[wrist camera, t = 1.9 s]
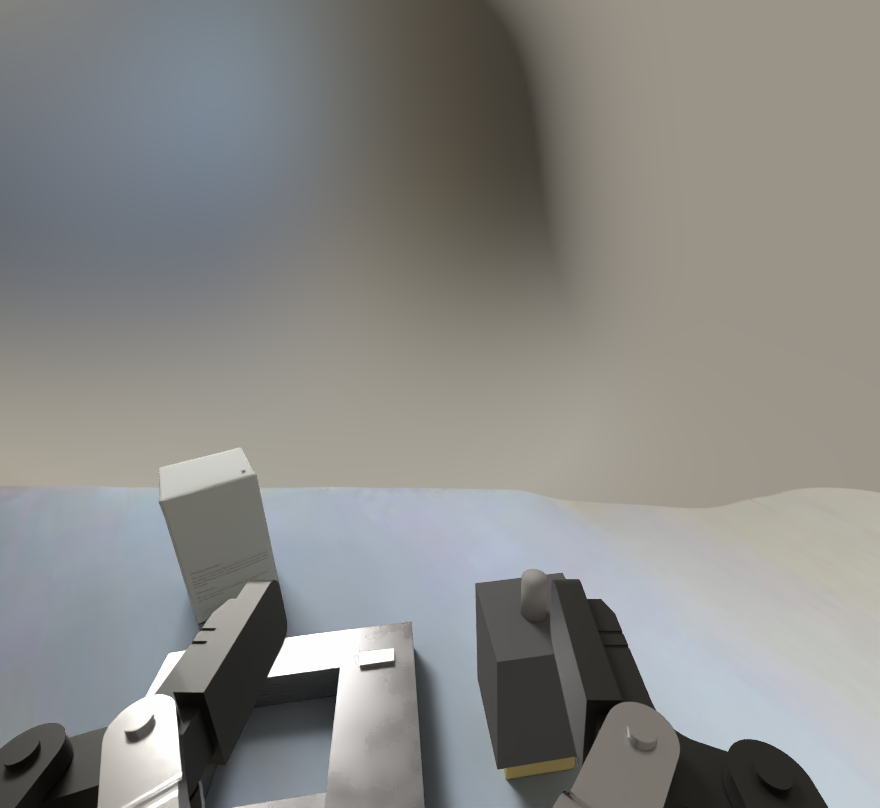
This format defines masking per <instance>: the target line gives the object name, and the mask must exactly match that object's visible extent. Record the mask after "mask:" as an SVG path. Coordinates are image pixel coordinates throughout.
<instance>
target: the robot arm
mask: <svg viewBox="0 0 880 808" xmlns="http://www.w3.org/2000/svg"><path fill="white" fill-rule="evenodd" d="M550 627H551V638H552V645H553V650H554V654H555V659H556V663H557V668H558V672H559V677H560V681H561V686H562V690H563V695H564V699H565V704H566V709H567V713H568V718H569V722H570V727H571V731H572V736H573V740H574V745H575V749H576V754H577V758H578V763H579V767H580V772H579V775H578V777H577V779H576V781H575V783H574V785H573V787H572V788H571V790H570V791H569V792H568V793H567V792H566V791H564V792H562V793H561V795H560V796H559V797H558V799H557V801H556V802H555V804H554V806H553V808H828V806H827V805H826V803H825V802H824V800H823V798H822V797H821V795H820V793H819V792H818V790H817V788H816V787H815V785H814V783H813V782H812V780H811V779H810V777H809V776H808V774H807V773H806V772H805V771H804V770H803V768H802V767H801V766H800V765H799V764H798V763H797V762H796V761H794V760H793V759H792V758H791V757H790V756H788V755H787V754H786V753H784V752H783V751H781V750H779V749H778V748H776V747H774V746H772V745H770V744H767V743H765V742H761V741H758V740H752V739H744V740H739V741H737V742H735V743H734V744H733V745H732V746H731V747H730V749H729V751H728V752H727V751H724V750H721V749H718V748H715V747H712V746H709V745H706V744H703V743H700V742H697V741H694V740H692V739H689V738H687V737H685V736H684V735H682V734H680V733H679V732H677V731H676V730H674V729H673V727H672V726H671V725H670V723H669V722H668V721H667V720H666V719H665V718H664V717H663V716H662V715H661V714H660V713H658V712H657V711H656V709H655V708H654V706H653V704H652V702H651V699H650V697H649V694H648V692H647V690H646V687H645V685H644V682H643V680H642V678H641V675H640V673H639V670H638V668H637V666H636V663H635V661H634V658H633V656H632V653H631V651H630V649H629V648H628V644H627V641H626V639H625V637H624V634H622V629H621V627H620V625H619V622H618V620H617V617H616V615H615V613H614V612H613V611H612V610H611V609H610V608H609V607H608V606H607V605H606V604H605V603H604V602H603V601H602V600H601V599H587V598H586V595H585V593H584V590H583V587H582V584H581V582H580V580H579V579H553V580H552V584H551V617H550ZM286 631H287V619H286V614H285V610H284V605H283V600H282V595H281V590H280V586H279V583H278V581H277V580H250V581H248V582H247V584H246V585H245V586H244V588H243V589H242V591H241V592H240V594H239V595H238V597H237V598H236V599H229V600H228V601H226V602H225V603H224V604H223V605H221V606H220V607H219V608H218V609H217V610H215V611H214V612H213V613H212V615H211V616H210V617H209V619H208V620H207V622H206V623H205V624H204V626H203V627H202V631H199V633H198V634H197V636H196V637H195V638H194V640H193V643H192V644H190V645H189V647H188V648H187V650H186V651H185V652H184V654H183V655H182V656H181V658H180V659H179V661H178V662H177V663H176V665H175V666H174V668H173V669H172V670H171V672H170V673H169V675H168V676H167V677H166V679H165V680H164V682H163V683H162V684H161V686H160V687H159V689H158V690H157V691H156V693H155V694H154V695H152V696H149V697H146V698H143V699H141V700H139V701H137V702H135V703H133V704H132V705H130V706H129V707H127V708H126V709H125V710H124V711H122V712H121V713H120V714H119V715H118V716H117V717H116V718H115V719H114V720H113V721H112V723H111V724H110V725H109V726H108V727H105V728H102V729H98V730H95V731H91V732H88V733H84V734H81V735H77V736H74V737H70V738H69V737H68V735H67V733H66V730H65V728H64V727H63V726H62V725H61V724H57V723H47V724H43V725H39V726H36V727H34V728H31V729H29V730H27V731H25V732H23V733H22V734H20V735H18V736H17V737H15V738H14V739H12V740H11V741H9V742H8V743H7V744H6V745H4V746H3V747H2V748H1V749H0V808H205V803H204V795H203V787H202V783H201V780H200V779H201V777H202V775H203V773H204V771H205V769H206V767H207V765H208V764H215V765H226V763H227V761H228V759H229V757H230V755H231V753H232V751H233V748H234V746H235V744H236V742H237V740H238V738H239V736H240V734H241V732H242V730H243V727H244V725H245V723H246V721H247V719H248V717H249V715H250V713H251V711H252V709H253V707H254V704H255V702H256V700H257V698H258V696H259V694H260V692H261V690H262V688H263V686H264V683H265V681H266V679H267V677H268V675H269V673H270V671H271V669H272V667H273V665H274V662H275V660H276V658H277V656H278V654H279V652H280V650H281V648H282V646H283V643H284V640H285V637H286Z"/></svg>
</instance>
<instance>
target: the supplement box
mask: <svg viewBox="0 0 880 808" xmlns="http://www.w3.org/2000/svg"><path fill="white" fill-rule="evenodd" d="M159 471H160V479H159V481H160V482H159V504H160V506H161V509H162V511H163V514H164V517H165V520H166V523H167V526H168V530H169V533H170V536H171V539H172V543H173V546H174V549H175V552H176V556H177V559H178V563H179V566H180V569H181V572H182V576H183V579H184V582H185V585H186V589H187V592H188V595H189V598H190V601H191V604H192V607H193V610H194V613H195V617H196V619H197V621H198V623H202V622H204V621H207V620H208V619H209V617H210V616H211V615H212V613H213V612H214V611H215V610H217V609H218V608H219V607H220V606H221V605H223V604H224V603H225V602H226V601H228V600H229V599H236V598H237V597H238V595H239V594H240V592H241V591H242V589H243V588H244V586H245V585H246V584H247V582H248V581H250V580H277V581H278V583H279V580H278V576H277V571H276V566H275V561H274V557H273V552H272V547H271V542H270V537H269V532H268V528H267V523H266V518H265V513H264V509H263V504H262V499H261V494H260V489H259V485H258V480H257V475H256V473H255V472H254V470H253V468H252V467H251V465H250V463H249V461H248V460H247V458H246V456H245V454H244V453H243V450H242V449H241V448H236V449H232V450H228V451H224V452H221V453H216V454H213V455H209V456H204V457H200V458H196V459H192V460H188V461H184V462H180V463H176V464H173V465H168V466H164V467H160V468H159ZM279 586H280V585H279Z"/></svg>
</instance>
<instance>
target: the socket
mask: <svg viewBox="0 0 880 808" xmlns="http://www.w3.org/2000/svg"><path fill="white" fill-rule="evenodd" d="M184 652H185V651H181V652H173V653H169V654H168V656H167V658H166V660H165V662H164V664H163V665H162V667H161V669H160V671H159V673H158V675H157V676H156V678H155V680H154V682H153V684H152V686H151V687H150V689H149V691H148V693H147V695H146V697H149V696H152V695H154V694H155V693H156V691H157V690H158V689H159V687H160V686H161V684H162V683H163V682H164V680H165V679H166V677H167V676H168V675H169V673H170V672H171V670H172V669H173V668H174V666H175V665H176V663H177V662H178V661H179V659H180V658H181V656H182V655H183V654H184ZM335 695H337V699H336V708H335V716H334V725H333V734H332V743H331V752H330V761H329V770H328V779H327V788H326V792H325V793H319V794H313V795H307V796H301V797H295V798H289V799H282V800H276V801H270V802H264V803H258V804H252V805H246V806H240V807H234V808H425V798H424V784H423V770H422V756H421V742H420V728H419V714H418V700H417V687H416V673H415V659H414V645H413V633H412V622H405V623H397V624H390V625H382V626H374V627H367V628H359V629H351V630H343V631H336V632H328V633H320V634H312V635H305V636H297V637H289V638H285V640H284V643H283V646H282V648H281V650H280V652H279V654H278V656H277V658H276V660H275V662H274V665H273V667H272V669H271V671H270V673H269V675H268V677H267V679H266V681H265V683H264V686H263V688H262V690H261V692H260V694H259V696H258V698H257V700H256V702H255V704H254V707H258V706H265V705H272V704H279V703H286V702H293V701H300V700H307V699H314V698H321V697H328V696H335ZM146 697H145V698H146ZM215 768H216V765H215V764H208V765H207V767H206V769H205V771H204V773H203V775H202V777H201V779H200V780H201V783H202V787H203V795H204V801H205V798H206V795H207V792H208V789H209V786H210V783H211V780H212V777H213V774H214V771H215Z"/></svg>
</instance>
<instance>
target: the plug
mask: <svg viewBox="0 0 880 808" xmlns="http://www.w3.org/2000/svg"><path fill="white" fill-rule="evenodd" d="M553 579H565V577H564V575H563V573H557V574H549V575H546V574H545V573H544V572H542V571H540V570H537V569H529V570H526V571H524V572H523V574H522V578H516V579H508V580H500V581H491V582H483V583H475V586H476V629H477V671H478V682H479V687H480V692H481V696H482V701H483V705H484V710H485V715H486V719H487V724H488V728H489V733H490V738H491V742H492V747H493V751H494V756H495V760H496V765H497V769H503V768H504V772H505V776H506V779H512V778H518V777H524V776H530V775H536V774H542V773H548V772H554V771H560V770H566V769H572V768H574V766H575V757H576V756H577V754H576V749H575V745H574V740H573V736H572V731H571V727H570V722H569V718H568V713H567V709H566V704H565V699H564V695H563V690H562V686H561V681H560V677H559V672H558V668H557V663H556V659H555V654H554V650H553V645H552V638H551V627H550V617H551V584H552V580H553Z"/></svg>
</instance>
